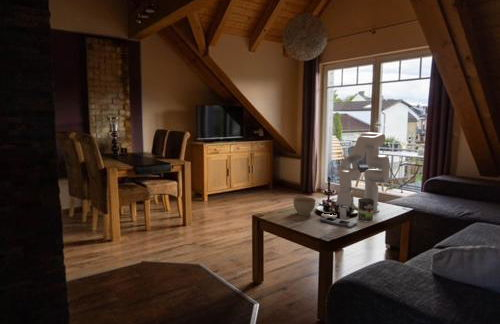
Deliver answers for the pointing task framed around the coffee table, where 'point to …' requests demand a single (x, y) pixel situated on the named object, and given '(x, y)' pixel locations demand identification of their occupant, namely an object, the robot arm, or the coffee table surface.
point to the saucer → (328, 215)
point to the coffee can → (365, 210)
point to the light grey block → (343, 213)
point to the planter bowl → (304, 205)
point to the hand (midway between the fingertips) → (344, 215)
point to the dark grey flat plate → (338, 222)
